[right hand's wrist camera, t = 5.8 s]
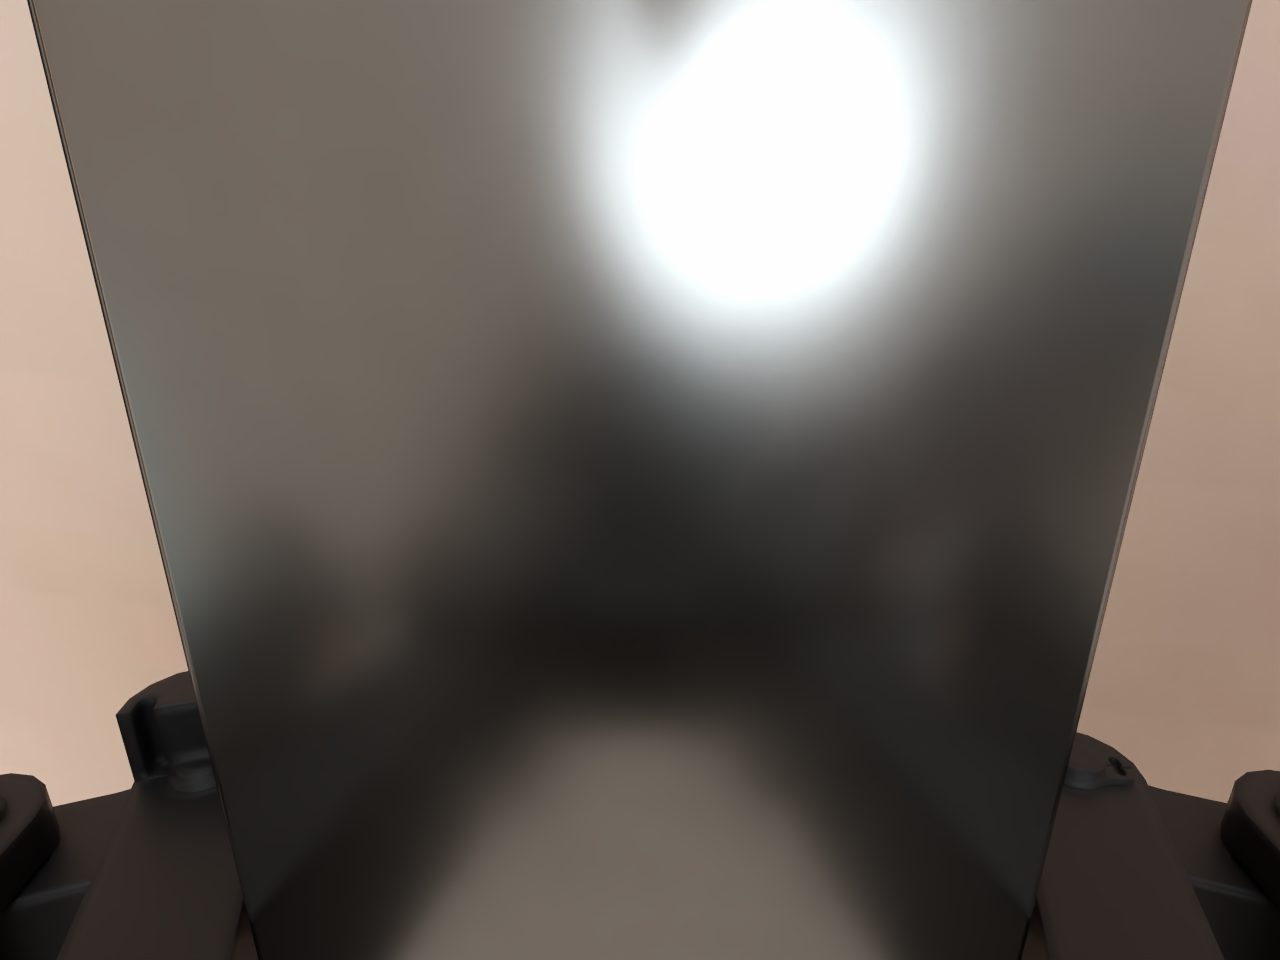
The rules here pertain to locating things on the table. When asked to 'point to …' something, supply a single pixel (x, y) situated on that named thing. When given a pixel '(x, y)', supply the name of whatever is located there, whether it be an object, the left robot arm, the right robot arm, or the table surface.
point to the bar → (639, 442)
